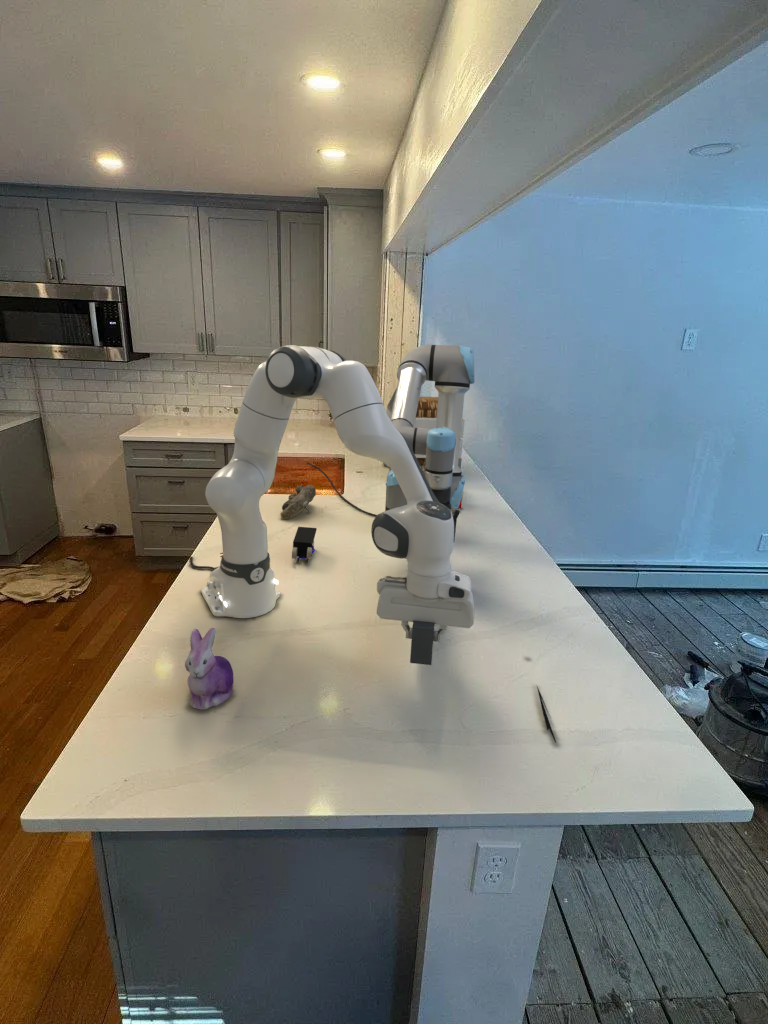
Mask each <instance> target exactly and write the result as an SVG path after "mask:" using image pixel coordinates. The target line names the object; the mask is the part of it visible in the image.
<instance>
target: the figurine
mask: <svg viewBox="0 0 768 1024" xmlns="http://www.w3.org/2000/svg"><path fill="white" fill-rule="evenodd" d="M216 634H217V629H216V628H215V627H214V626H212V627H211V628H210V629H208V631H207V632H206V634H205V635H204V636H203V637H202V635H201V631H200V630H199V629H198V628H194V629H193V630H191V634H190V638H189V639H190V640H189V641H190V643H189V646H190V650H189V652H188V655H187V656H186V658H185V662H184V668H185V669H186V671H187V672H188V673H189V675H188V677H187V686H188V688H189V692H190V702H189V706H190V707H191V708H194V709H197V710H202V711H203V710H208V709H209V708H211V707H217V706H220V705H221V704H222V703H225V701H227V700H228V699H229V698H230V697H232V694H233V691H234V670H233V666H232V664H231V662H230V661H229V660H228V658H226V657H225V656H222V655H215V654H214V651H213V650H212V648H213V645H214V642H215V639H216Z"/></svg>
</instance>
